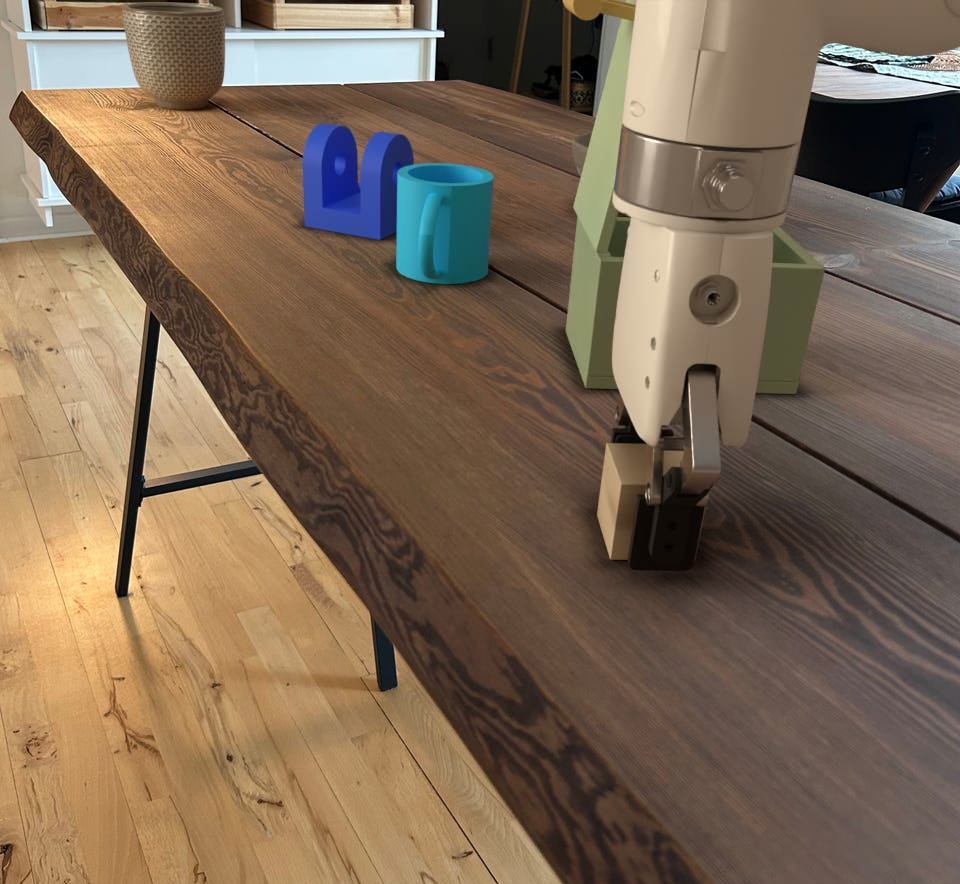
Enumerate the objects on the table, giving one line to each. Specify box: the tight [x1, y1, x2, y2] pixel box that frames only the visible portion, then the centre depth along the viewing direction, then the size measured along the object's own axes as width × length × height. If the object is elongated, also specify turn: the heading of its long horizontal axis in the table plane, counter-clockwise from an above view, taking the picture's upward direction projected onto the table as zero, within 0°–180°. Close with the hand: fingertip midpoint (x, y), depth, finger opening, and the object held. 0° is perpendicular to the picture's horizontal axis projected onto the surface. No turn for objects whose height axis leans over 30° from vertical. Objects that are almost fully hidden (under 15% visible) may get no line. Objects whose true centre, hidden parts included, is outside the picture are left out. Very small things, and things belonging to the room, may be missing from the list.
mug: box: [395, 162, 494, 285], centre depth 87 cm, size 12×8×8 cm
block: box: [596, 442, 707, 561], centre depth 53 cm, size 4×4×4 cm
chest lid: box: [562, 0, 637, 254], centre depth 66 cm, size 16×11×5 cm
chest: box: [565, 215, 826, 395], centre depth 73 cm, size 15×11×9 cm
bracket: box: [301, 122, 415, 241], centre depth 104 cm, size 18×8×9 cm, turn 157°
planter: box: [121, 1, 226, 111], centre depth 147 cm, size 14×14×13 cm
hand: (646, 527), depth 54 cm, fingers open, 6 cm apart
